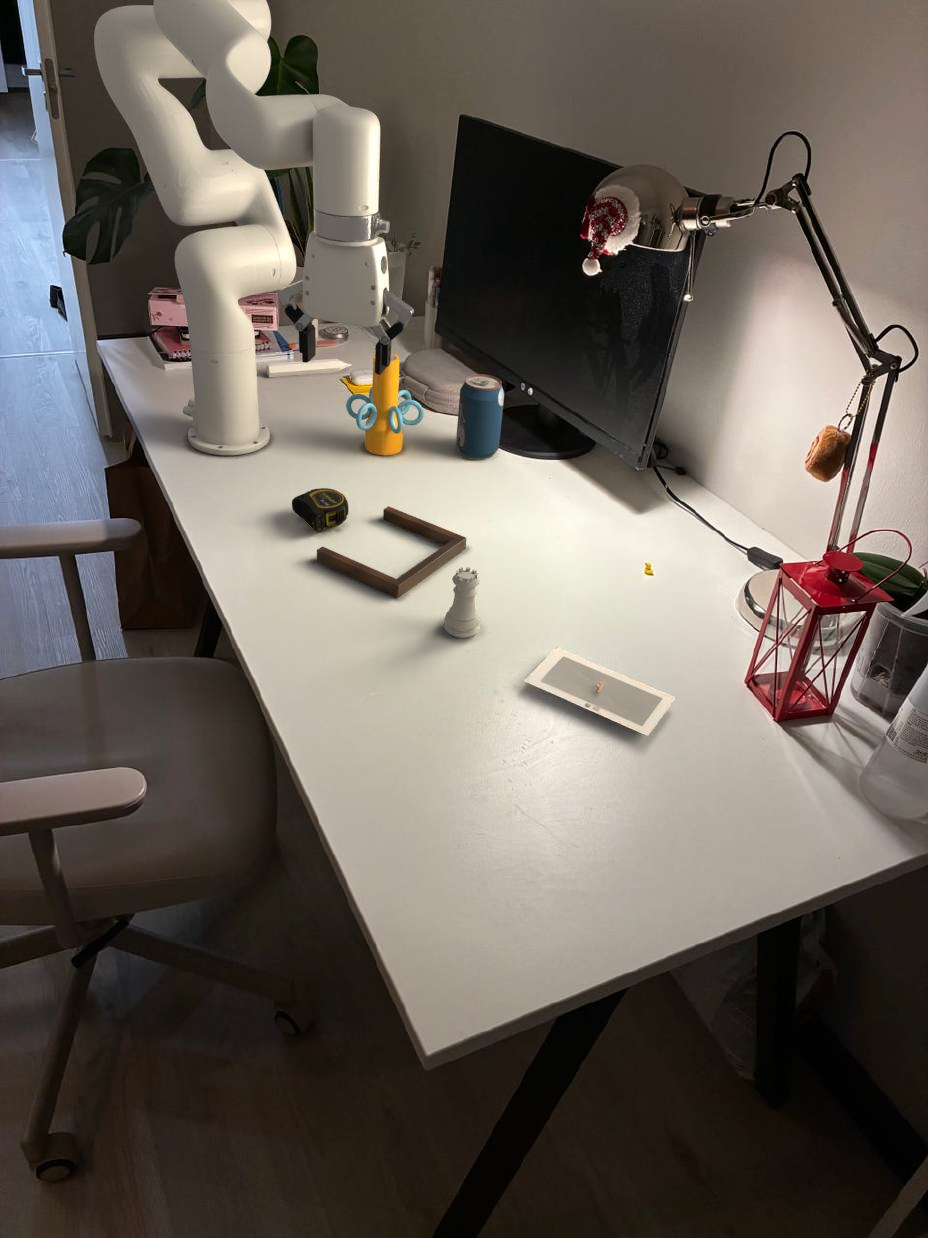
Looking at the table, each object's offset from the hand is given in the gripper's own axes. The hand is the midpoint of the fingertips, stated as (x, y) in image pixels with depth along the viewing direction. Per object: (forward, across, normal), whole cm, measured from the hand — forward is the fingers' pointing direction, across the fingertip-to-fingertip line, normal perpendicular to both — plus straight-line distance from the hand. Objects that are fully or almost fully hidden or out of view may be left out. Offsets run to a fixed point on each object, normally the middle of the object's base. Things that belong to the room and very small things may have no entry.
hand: (344, 364), depth 124 cm
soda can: (+22, -14, -26) cm, 37 cm away
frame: (+22, -9, +8) cm, 25 cm away
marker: (+22, +22, -48) cm, 57 cm away
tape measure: (+22, +2, +4) cm, 23 cm away
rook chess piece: (+22, -22, +22) cm, 38 cm away
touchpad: (+22, -39, +29) cm, 54 cm away
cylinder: (+22, +1, -22) cm, 32 cm away
